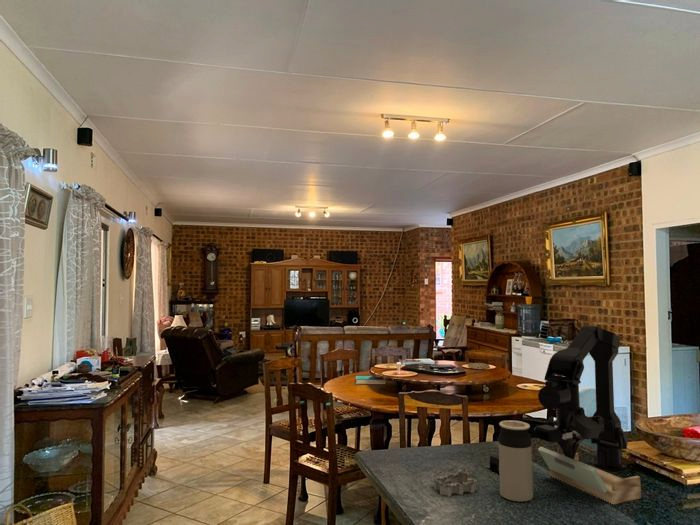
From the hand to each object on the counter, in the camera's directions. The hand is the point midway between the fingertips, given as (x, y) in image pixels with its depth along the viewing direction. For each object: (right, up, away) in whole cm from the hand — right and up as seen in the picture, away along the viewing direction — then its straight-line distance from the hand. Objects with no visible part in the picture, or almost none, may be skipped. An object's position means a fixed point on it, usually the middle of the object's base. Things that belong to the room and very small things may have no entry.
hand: (570, 463), depth 127 cm
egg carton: (-30, -8, +1) cm, 31 cm away
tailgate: (+2, -4, +1) cm, 5 cm away
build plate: (-14, -9, +14) cm, 22 cm away
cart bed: (+7, -7, +3) cm, 10 cm away
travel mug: (-15, -7, -3) cm, 17 cm away
